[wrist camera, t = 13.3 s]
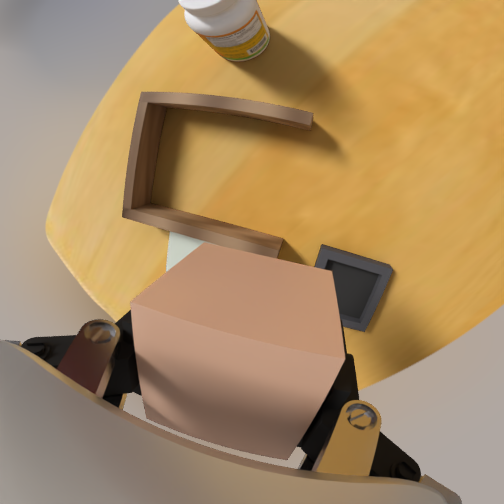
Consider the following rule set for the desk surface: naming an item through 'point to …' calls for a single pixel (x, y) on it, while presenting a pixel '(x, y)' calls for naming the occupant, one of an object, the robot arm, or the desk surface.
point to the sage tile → (180, 248)
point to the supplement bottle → (229, 26)
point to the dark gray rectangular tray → (355, 284)
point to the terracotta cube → (238, 348)
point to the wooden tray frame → (146, 156)
